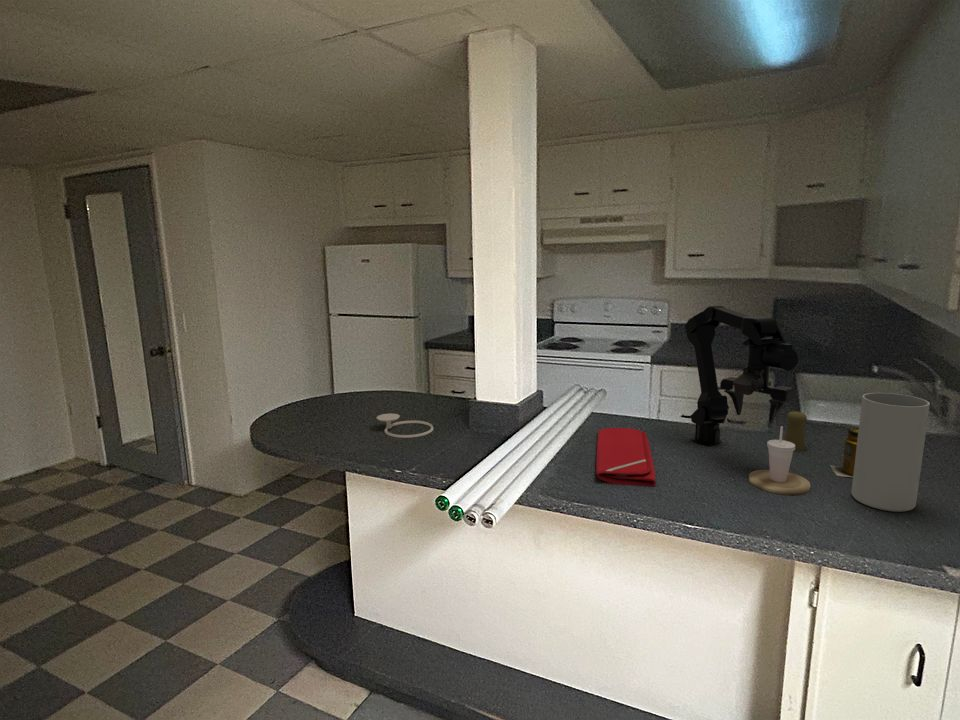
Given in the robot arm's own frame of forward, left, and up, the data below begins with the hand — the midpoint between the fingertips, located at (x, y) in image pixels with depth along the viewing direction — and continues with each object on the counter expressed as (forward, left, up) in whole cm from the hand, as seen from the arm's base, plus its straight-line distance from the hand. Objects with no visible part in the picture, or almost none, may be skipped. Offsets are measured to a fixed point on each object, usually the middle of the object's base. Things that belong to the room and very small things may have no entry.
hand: (754, 418), depth 157 cm
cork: (+1, +22, -13) cm, 26 cm away
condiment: (+20, +14, -13) cm, 28 cm away
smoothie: (+12, -8, -12) cm, 19 cm away
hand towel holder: (-89, -63, -14) cm, 110 cm away
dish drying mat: (-25, -24, -14) cm, 37 cm away
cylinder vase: (+32, +1, -13) cm, 35 cm away
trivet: (+12, -8, -13) cm, 19 cm away
